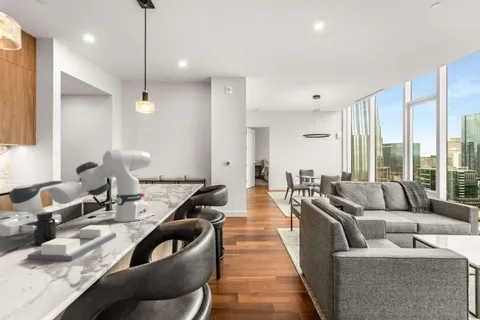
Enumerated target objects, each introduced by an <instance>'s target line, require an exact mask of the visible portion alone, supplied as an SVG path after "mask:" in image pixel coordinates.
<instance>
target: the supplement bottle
mask: <svg viewBox="0 0 480 320" xmlns="http://www.w3.org/2000/svg"><path fill="white" fill-rule="evenodd" d="M52 214H53V212H52V211H44V213H39V214H37V219H38V220H37V221H36V222H35V223H34V225H37V230H34V231H33V243H34V245H35V246H38V247H39V246H41V244H43V243H46V242H48V241H51V240H53V239H56V238H57V230H56V229H57V228H56V227H57V224H56V221H55V219H53V218H52V217H53V216H52Z"/></svg>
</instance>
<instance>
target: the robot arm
mask: <svg viewBox="0 0 480 320" xmlns="http://www.w3.org/2000/svg"><path fill="white" fill-rule="evenodd" d="M103 154H104V155H103V156H102V164H101V165H99V163H96V162H93V161H87V162H85V161H84V162H82V163H80V164H79V165H78V166H77V167H76V168H75V172H76V174H77V176H79V178H80V179H73V180H69V181H66V182H64V183H63V182H62V181H61V180H52V181H45V182H40V183H34V184H24V185H19V186H16V187H14V188H12V190H11V191H10V192H9V194H8V198H9V199H10V202H11V203H12V204H11V205H12V207H13V210H0V238H1V237H10V236H14V235H24V234H28V233H29V232H34V230H37V225H34V223H35V222H36V221H37V220H38V219H37V214H39V213H44V212H45V209H44V206H43V202H42V199H41V192H47V193H48V195H49V197H50V199H52V200H53V201H54V202H55V203H57V204H61V205H66V204H70V203H73V202H74V201H76V200H77V199H78V198H80V196H82V195H83V194H86V193H87V196H89V195H90V196H94V197H98V196H101V195H104V194H105V193H107V192H108V190H109V189H110V185H109V182H107V180H106V179H112V178H115V180H116V186H117V187H116V189H117V190H116V192H117V194H116V197H115V198H116V210H115V216H114V219H113V220H114V221H115V222H122V223H123V222H125V223H126V222H132V221H135V222H137V221H138V222H139V220H140V221H142V219H143V220H145V219H148V218H151V217H153V216H155V215H156V212H154V211H152V208H151V207H152V206H151V205H150V204H149V203H148V202H146V201H145V200H144V199H142V198H144V197H146V194H145V193H143V192H141V193H140V180H139V178H138V177H136V176H135V175H132V174H131V172H134V171H136V170H140V169H145V168H147V167H149V166H150V165H151V161H152V159H151V155H150V153H149V152H148V151H145V150H139V149H110V150H107V151H105V153H103ZM152 215H153V216H152ZM52 216H53V217H52V218H53V219H55V221H56V225H59V224H60V223H62V215H61V214H59V213H54V214H53V213H52ZM147 217H148V218H147Z"/></svg>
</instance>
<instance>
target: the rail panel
mask: <svg viewBox="0 0 480 320" xmlns="http://www.w3.org/2000/svg"><path fill="white" fill-rule="evenodd" d="M116 237H117V233H116V232H114V231H111V226H110V225H102V224H100V225H99V224H90V225H87V226H84V227H82V228H80V229H79V233H77V234H75V235H72V236H69V237H68V238H67V237H66V238H65V237H64V238H62V237H61V238H59V237H58V238H57V237H56V239H53V240H51V241H48V242H46V243H43V244H41V247H40V249H38V250H35V251H33V252H31V253H28V254H27V260H38V261H39V260H41V261H42V260H44V261H46V260H47V261H66V262H67V261H69V262H70V261H71V262H72V261H74V260H76V259H78V258H79V257H82V256H84V255H86V254H87V253H88V252H91V251H92V250H94V249H96V248H98V247H100V246H102V245H103V244H105V243H107V242H109V241H111V240H112V239H115V238H116Z"/></svg>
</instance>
